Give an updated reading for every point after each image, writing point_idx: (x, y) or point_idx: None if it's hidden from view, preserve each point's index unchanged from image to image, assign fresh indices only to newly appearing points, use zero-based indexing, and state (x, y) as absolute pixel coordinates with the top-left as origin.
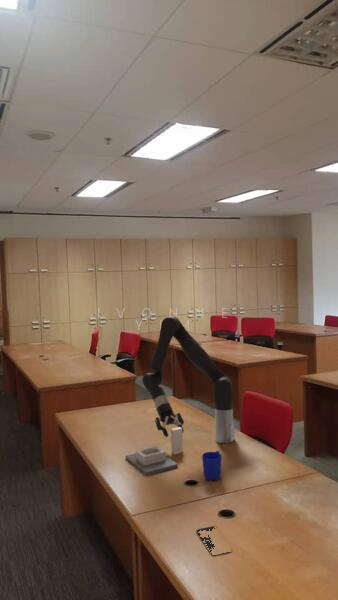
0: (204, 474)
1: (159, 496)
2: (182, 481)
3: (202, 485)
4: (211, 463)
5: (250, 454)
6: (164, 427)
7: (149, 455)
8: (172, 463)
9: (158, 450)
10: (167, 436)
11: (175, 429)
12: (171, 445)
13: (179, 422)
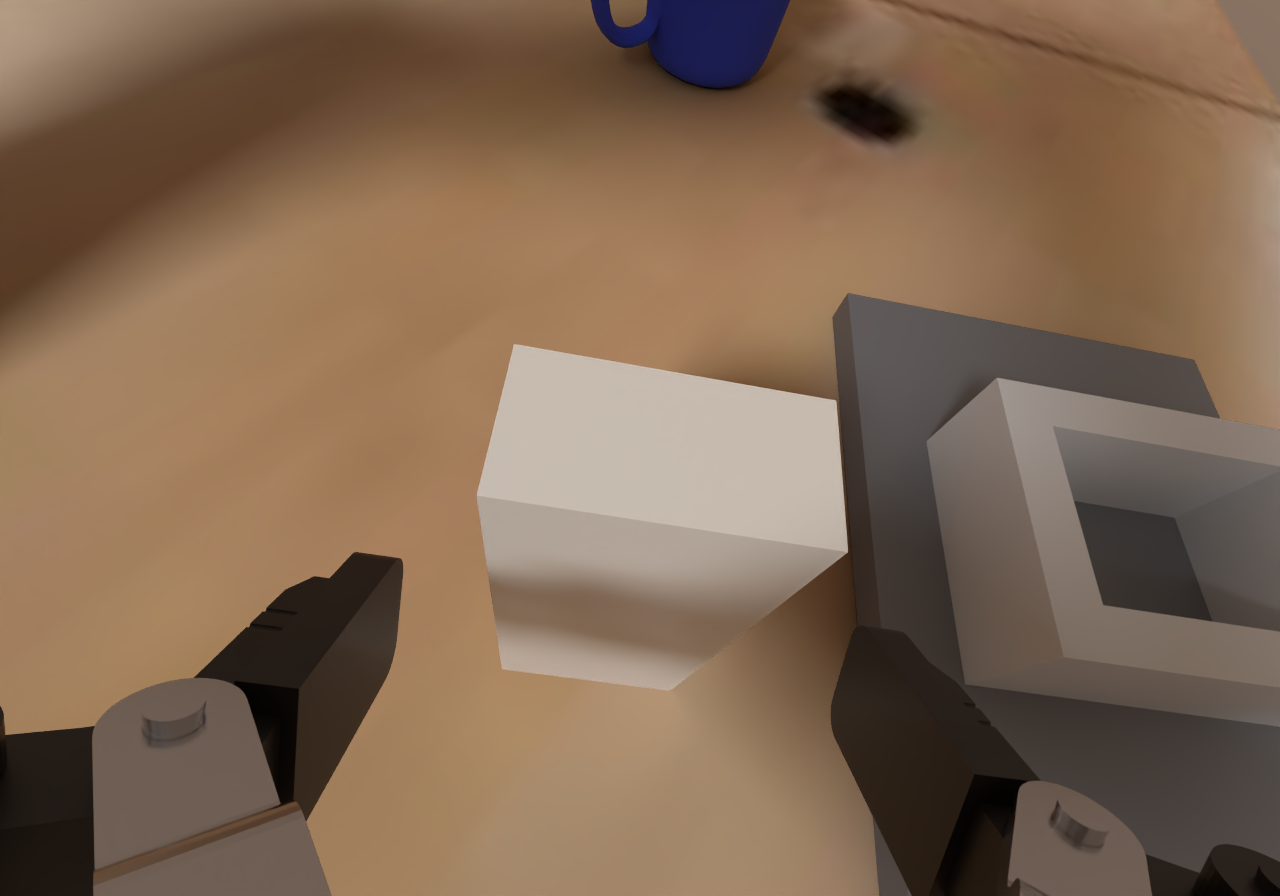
0: (772, 42)
1: (1120, 138)
2: (914, 153)
3: (820, 57)
4: None
5: (17, 50)
6: (1051, 807)
7: (1234, 426)
8: (890, 334)
9: (1064, 505)
10: (841, 683)
11: (749, 411)
12: (699, 665)
13: (138, 782)
